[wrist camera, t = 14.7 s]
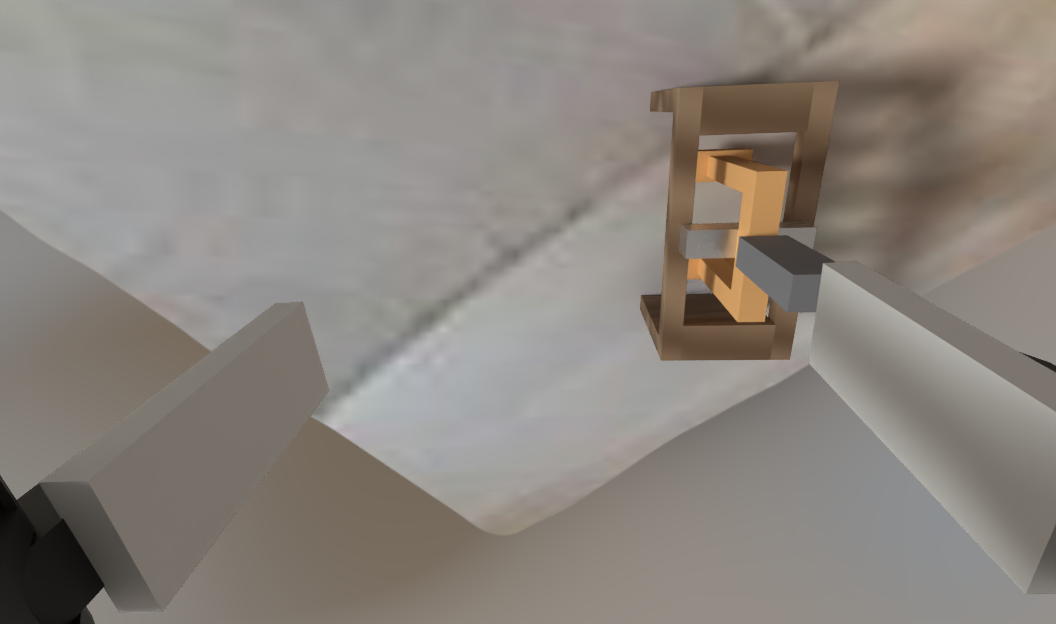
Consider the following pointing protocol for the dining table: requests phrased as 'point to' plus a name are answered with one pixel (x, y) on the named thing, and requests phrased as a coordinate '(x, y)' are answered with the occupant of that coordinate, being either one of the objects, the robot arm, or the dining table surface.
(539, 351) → the dining table surface
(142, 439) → the robot arm
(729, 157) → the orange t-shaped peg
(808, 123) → the brown frame with crossbar
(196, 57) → the dining table surface
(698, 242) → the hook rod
